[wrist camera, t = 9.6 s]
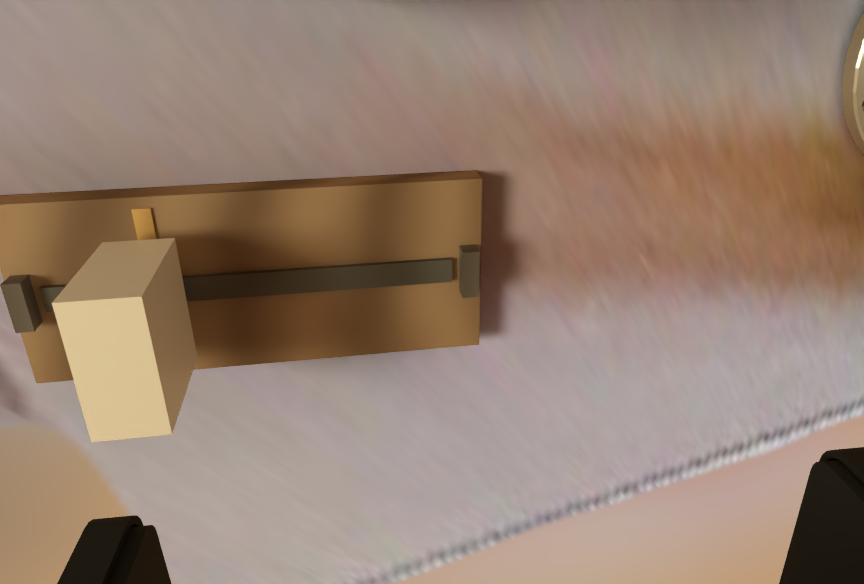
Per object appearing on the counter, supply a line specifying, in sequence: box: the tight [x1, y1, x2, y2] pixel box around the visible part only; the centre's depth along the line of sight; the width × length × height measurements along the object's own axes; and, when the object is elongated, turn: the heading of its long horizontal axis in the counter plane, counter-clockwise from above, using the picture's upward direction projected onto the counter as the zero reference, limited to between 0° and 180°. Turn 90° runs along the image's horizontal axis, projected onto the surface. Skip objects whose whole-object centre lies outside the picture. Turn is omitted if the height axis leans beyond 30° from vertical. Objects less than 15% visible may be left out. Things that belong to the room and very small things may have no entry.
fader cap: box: [52, 238, 197, 442], centre depth 28 cm, size 3×6×7 cm, turn 1°
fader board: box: [0, 170, 482, 383], centre depth 32 cm, size 22×9×2 cm, turn 91°
